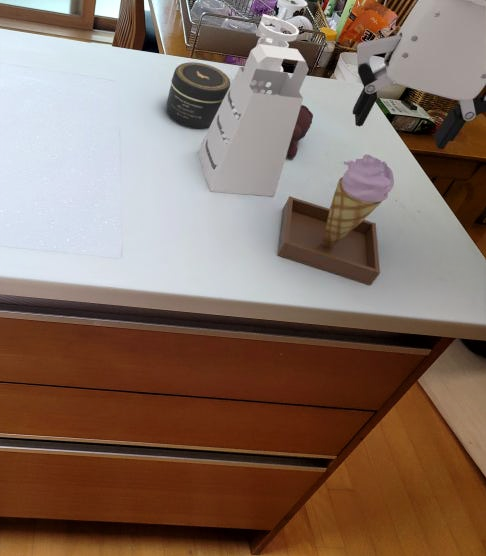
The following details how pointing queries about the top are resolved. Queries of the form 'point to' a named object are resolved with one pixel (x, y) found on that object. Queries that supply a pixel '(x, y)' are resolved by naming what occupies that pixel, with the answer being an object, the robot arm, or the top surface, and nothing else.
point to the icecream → (300, 129)
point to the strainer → (273, 43)
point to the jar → (196, 94)
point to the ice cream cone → (357, 196)
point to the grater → (254, 126)
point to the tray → (339, 258)
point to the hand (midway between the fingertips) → (397, 132)
